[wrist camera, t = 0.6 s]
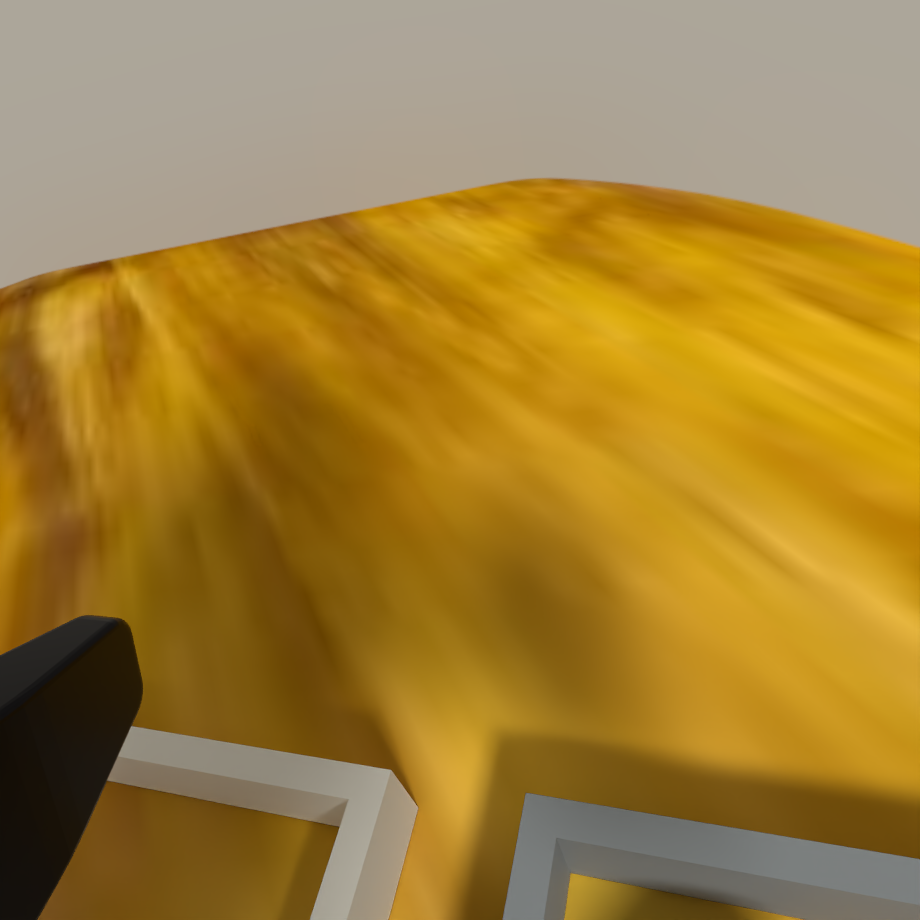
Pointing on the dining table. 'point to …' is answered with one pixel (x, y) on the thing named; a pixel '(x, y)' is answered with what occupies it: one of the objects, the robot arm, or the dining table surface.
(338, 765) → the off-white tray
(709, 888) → the grey square frame
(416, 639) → the dining table surface
